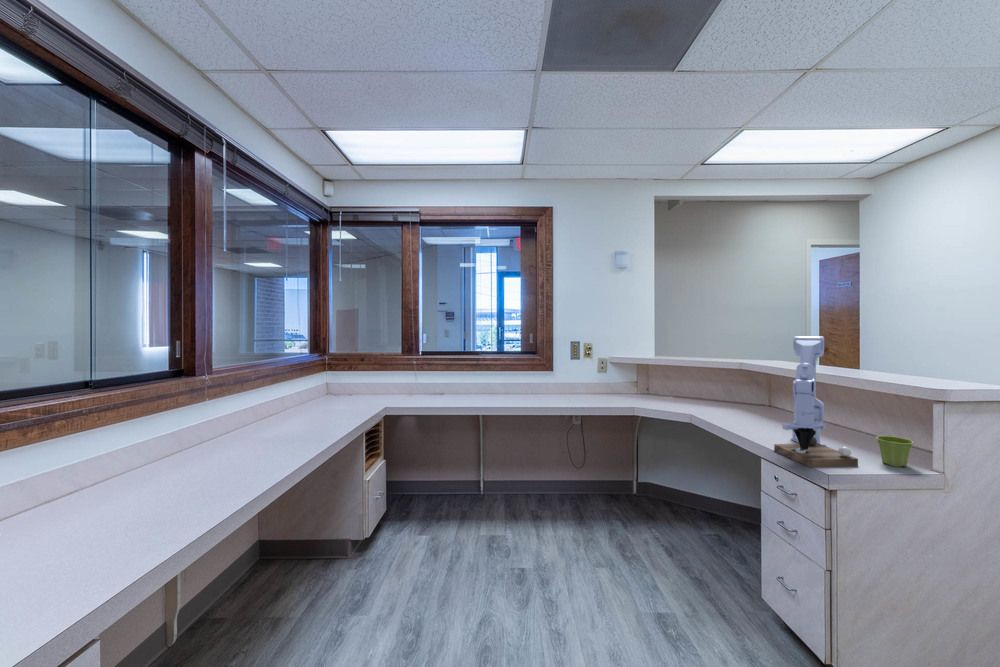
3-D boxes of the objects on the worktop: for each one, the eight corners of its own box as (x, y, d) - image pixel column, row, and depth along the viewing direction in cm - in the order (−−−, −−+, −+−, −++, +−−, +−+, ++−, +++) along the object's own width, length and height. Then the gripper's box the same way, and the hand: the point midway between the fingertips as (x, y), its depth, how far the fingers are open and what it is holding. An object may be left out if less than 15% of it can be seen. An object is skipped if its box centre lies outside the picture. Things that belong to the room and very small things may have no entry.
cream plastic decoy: (835, 455, 147) (835, 445, 146) (845, 454, 147) (845, 445, 146) (843, 458, 143) (843, 448, 143) (853, 458, 143) (853, 448, 143)
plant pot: (875, 457, 150) (875, 434, 150) (911, 462, 144) (911, 438, 144) (876, 465, 143) (877, 440, 142) (915, 471, 137) (915, 445, 136)
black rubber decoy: (803, 444, 160) (803, 435, 159) (812, 443, 160) (812, 434, 159) (810, 446, 156) (810, 437, 156) (819, 446, 156) (819, 437, 156)
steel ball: (797, 444, 153) (801, 451, 154) (790, 451, 153) (795, 457, 154) (805, 448, 150) (810, 454, 151) (799, 454, 150) (804, 461, 150)
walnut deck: (774, 450, 160) (774, 444, 160) (817, 449, 160) (817, 443, 160) (808, 467, 142) (808, 459, 142) (857, 465, 142) (857, 458, 142)
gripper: (792, 414, 147) (792, 452, 147) (832, 413, 147) (832, 451, 147) (778, 410, 154) (778, 446, 154) (817, 409, 154) (817, 445, 154)
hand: (804, 448), depth 151 cm, fingers closed
